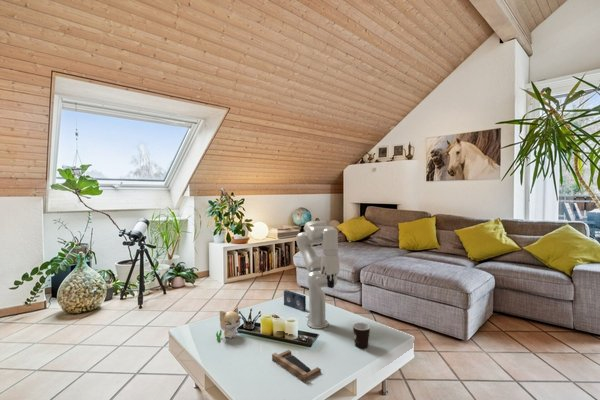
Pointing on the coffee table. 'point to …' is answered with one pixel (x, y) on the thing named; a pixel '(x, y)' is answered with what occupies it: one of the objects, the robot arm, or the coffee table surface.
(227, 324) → the kitten
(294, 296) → the vhs cassette tape
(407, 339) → the coffee table surface
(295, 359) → the remote control
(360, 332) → the coffee mug
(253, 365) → the coffee table surface
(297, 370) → the walnut frame
